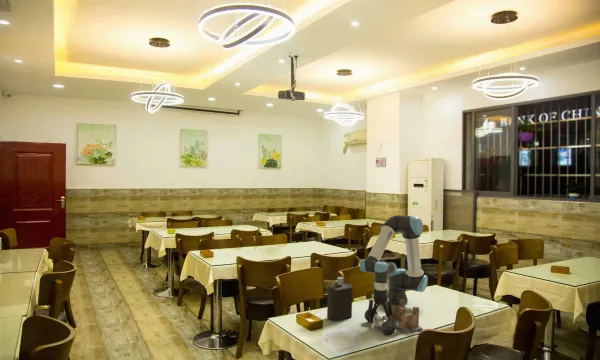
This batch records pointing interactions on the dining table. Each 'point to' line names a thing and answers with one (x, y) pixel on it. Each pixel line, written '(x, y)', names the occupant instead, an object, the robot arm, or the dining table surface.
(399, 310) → the rack
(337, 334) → the dining table surface
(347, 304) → the bottle
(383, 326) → the dumbbell
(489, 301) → the dining table surface
